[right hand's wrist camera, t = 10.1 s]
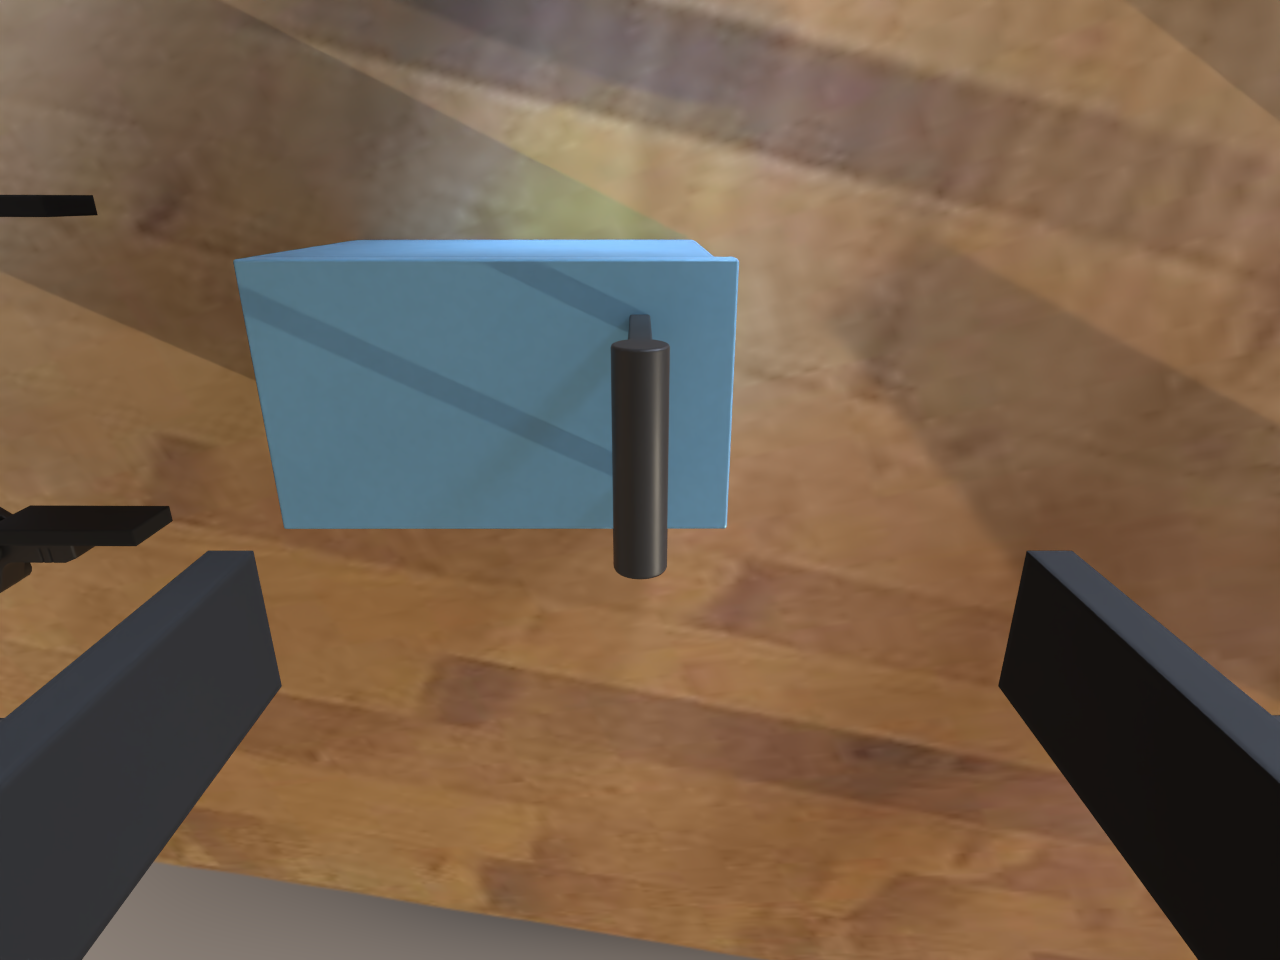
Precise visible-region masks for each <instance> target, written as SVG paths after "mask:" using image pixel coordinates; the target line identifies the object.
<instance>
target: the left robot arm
mask: <svg viewBox="0 0 1280 960" xmlns="http://www.w3.org/2000/svg"><path fill="white" fill-rule="evenodd" d="M87 215H97V211H96V207H95V203H94V199H93V195H0V217H60V216H87ZM172 521H173V520H172V516H171V512H170V508H169V506H29V507H27V508H25V509H23V510H21V511H19V512H17V513H15V514H11V513H9V512H8V511H6V510H5V509H3V508H1V507H0V593H1V592H3V591H4V590H6V589H7V588H9V587H11V586H12V585H14V584H16V583H17V582H19V581H20V580H22V579H23V578H25V577H27V576H28V575H30V573H31V572H32V566H31V564H30V562H36V563H43V562H45V563H52V562H54V563H66V562H68V561H71V560H73V559H76V558H77V557H79V556H80V555H82V554H84V553H85V552H87V551H88V550H90V549H91V548H93V547H94V546H137V545H139V544H140V543H141V542H143V541H144V540H146V539H147V538H149V537H150V536H151V535H153V534H154V533H156V532H157V531H159V530H160V529H162V528H163V527H164V526H166V525H167V524H169V523H170V522H172Z"/></svg>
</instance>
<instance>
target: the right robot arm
mask: <svg viewBox="0 0 1280 960" xmlns="http://www.w3.org/2000/svg"><path fill="white" fill-rule="evenodd" d="M281 686H282V685H281V681H280V676H279V671H278V666H277V662H276V657H275V652H274V647H273V643H272V638H271V633H270V628H269V624H268V619H267V614H266V609H265V605H264V600H263V595H262V590H261V586H260V581H259V576H258V571H257V566H256V562H255V557H254V552H253V551H207V552H206V553H205V554H204V555H202V556H201V557H200V558H199V559H197V560H196V561H195V562H194V563H193V564H191V565H190V566H189V567H188V568H187V569H185V570H184V571H183V572H182V573H180V574H179V575H178V576H177V577H176V578H174V579H173V580H172V581H171V582H170V583H168V584H167V585H166V586H165V587H163V588H162V589H161V590H160V591H159V592H157V593H156V594H155V595H154V596H153V597H151V598H150V599H149V600H148V601H146V602H145V603H144V604H143V605H142V606H140V607H139V608H138V609H137V610H136V611H134V612H133V613H132V614H131V615H129V616H128V617H127V618H126V619H125V620H123V621H122V622H121V623H120V624H119V625H117V626H116V627H115V628H114V629H112V630H111V631H110V632H109V633H108V634H106V635H105V636H104V637H103V638H102V639H100V640H99V641H98V642H97V643H95V644H94V645H93V646H92V647H91V648H89V649H88V650H87V651H86V652H84V653H83V654H82V655H81V656H80V657H78V658H77V659H76V660H75V661H74V662H72V663H71V664H70V665H69V666H67V667H66V668H65V669H64V670H63V671H61V672H60V673H59V674H58V675H57V676H55V677H54V678H53V679H52V680H50V681H49V682H48V683H47V684H46V685H44V686H43V687H42V688H41V689H40V690H38V691H37V692H36V693H35V694H33V695H32V696H31V697H30V698H29V699H27V700H26V701H25V702H24V703H23V704H21V705H20V706H19V707H18V708H16V709H15V710H14V711H13V712H12V713H10V714H9V715H8V716H7V717H6V718H0V960H82V959H83V957H84V956H85V955H86V953H87V952H88V950H89V949H90V948H91V946H92V945H93V944H94V942H95V941H96V940H97V938H98V937H99V935H100V934H101V933H102V931H103V930H104V929H105V927H106V926H107V924H108V923H109V922H110V920H111V919H112V918H113V916H114V915H115V914H116V912H117V911H118V909H119V908H120V907H121V905H122V904H123V903H124V901H125V900H126V898H127V897H128V896H129V894H130V893H131V892H132V890H133V889H134V888H135V886H136V885H137V883H138V882H139V881H140V879H141V878H142V877H143V875H144V874H145V872H146V871H147V870H148V868H149V867H150V866H151V864H152V863H153V862H154V860H155V859H156V857H157V856H158V855H159V853H160V852H161V851H162V849H163V848H164V846H165V845H166V844H167V842H168V841H169V840H170V838H171V837H172V836H173V834H174V833H175V831H176V830H177V829H178V827H179V826H180V825H181V823H182V822H183V820H184V819H185V818H186V816H187V815H188V814H189V812H190V811H191V809H192V808H193V807H194V805H195V804H196V803H197V801H198V800H199V799H200V797H201V796H202V794H203V793H204V792H205V790H206V789H207V788H208V786H209V785H210V783H211V782H212V781H213V779H214V778H215V777H216V775H217V774H218V773H219V771H220V770H221V768H222V767H223V766H224V764H225V763H226V762H227V760H228V759H229V757H230V756H231V755H232V753H233V752H234V751H235V749H236V748H237V746H238V745H239V744H240V742H241V741H242V740H243V738H244V737H245V736H246V734H247V733H248V731H249V730H250V729H251V727H252V726H253V725H254V723H255V722H256V720H257V719H258V718H259V716H260V715H261V714H262V712H263V711H264V710H265V708H266V707H267V705H268V704H269V703H270V701H271V700H272V699H273V697H274V696H275V694H276V693H277V692H278V690H279V689H280V688H281ZM998 686H999V688H1000V689H1001V690H1002V692H1003V693H1004V694H1005V696H1006V697H1007V699H1008V700H1009V701H1010V703H1011V704H1012V705H1013V707H1014V708H1015V710H1016V711H1017V712H1018V714H1019V715H1020V716H1021V718H1022V719H1023V720H1024V722H1025V723H1026V725H1027V726H1028V727H1029V729H1030V730H1031V731H1032V733H1033V734H1034V736H1035V737H1036V738H1037V740H1038V741H1039V742H1040V744H1041V745H1042V746H1043V748H1044V749H1045V751H1046V752H1047V753H1048V755H1049V756H1050V757H1051V759H1052V760H1053V762H1054V763H1055V764H1056V766H1057V767H1058V768H1059V770H1060V771H1061V773H1062V774H1063V775H1064V777H1065V778H1066V779H1067V781H1068V782H1069V783H1070V785H1071V786H1072V788H1073V789H1074V790H1075V792H1076V793H1077V794H1078V796H1079V797H1080V799H1081V800H1082V801H1083V803H1084V804H1085V805H1086V807H1087V808H1088V809H1089V811H1090V812H1091V814H1092V815H1093V816H1094V818H1095V819H1096V820H1097V822H1098V823H1099V825H1100V826H1101V827H1102V829H1103V830H1104V831H1105V833H1106V834H1107V836H1108V837H1109V838H1110V840H1111V841H1112V842H1113V844H1114V845H1115V846H1116V848H1117V849H1118V851H1119V852H1120V853H1121V855H1122V856H1123V857H1124V859H1125V860H1126V862H1127V863H1128V864H1129V866H1130V867H1131V868H1132V870H1133V871H1134V872H1135V874H1136V875H1137V877H1138V878H1139V879H1140V881H1141V882H1142V883H1143V885H1144V886H1145V888H1146V889H1147V890H1148V892H1149V893H1150V894H1151V896H1152V897H1153V898H1154V900H1155V901H1156V903H1157V904H1158V905H1159V907H1160V908H1161V909H1162V911H1163V912H1164V914H1165V915H1166V916H1167V918H1168V919H1169V920H1170V922H1171V923H1172V925H1173V926H1174V927H1175V929H1176V930H1177V931H1178V933H1179V934H1180V935H1181V937H1182V938H1183V940H1184V941H1185V942H1186V944H1187V945H1188V946H1189V948H1190V949H1191V951H1192V952H1193V953H1194V955H1195V956H1196V957H1197V959H1198V960H1280V715H1271V714H1270V713H1268V712H1267V711H1266V710H1265V709H1264V708H1262V707H1261V706H1260V705H1259V704H1257V703H1256V702H1255V701H1254V700H1253V699H1251V698H1250V697H1249V696H1248V695H1247V694H1245V693H1244V692H1243V691H1242V690H1240V689H1239V688H1238V687H1237V686H1236V685H1234V684H1233V683H1232V682H1231V681H1230V680H1228V679H1227V678H1226V677H1225V676H1223V675H1222V674H1221V673H1220V672H1219V671H1217V670H1216V669H1215V668H1214V667H1213V666H1211V665H1210V664H1209V663H1208V662H1206V661H1205V660H1204V659H1203V658H1202V657H1200V656H1199V655H1198V654H1197V653H1196V652H1194V651H1193V650H1192V649H1191V648H1189V647H1188V646H1187V645H1186V644H1185V643H1183V642H1182V641H1181V640H1180V639H1178V638H1177V637H1176V636H1175V635H1174V634H1172V633H1171V632H1170V631H1169V630H1168V629H1166V628H1165V627H1164V626H1163V625H1161V624H1160V623H1159V622H1158V621H1157V620H1155V619H1154V618H1153V617H1152V616H1151V615H1149V614H1148V613H1147V612H1146V611H1144V610H1143V609H1142V608H1141V607H1140V606H1138V605H1137V604H1136V603H1135V602H1134V601H1132V600H1131V599H1130V598H1129V597H1127V596H1126V595H1125V594H1124V593H1123V592H1121V591H1120V590H1119V589H1118V588H1117V587H1115V586H1114V585H1113V584H1112V583H1110V582H1109V581H1108V580H1107V579H1106V578H1104V577H1103V576H1102V575H1101V574H1100V573H1098V572H1097V571H1096V570H1095V569H1093V568H1092V567H1091V566H1090V565H1089V564H1087V563H1086V562H1085V561H1084V560H1083V559H1081V558H1080V557H1079V556H1078V555H1076V554H1075V553H1074V552H1073V551H1027V552H1026V557H1025V562H1024V566H1023V571H1022V576H1021V581H1020V586H1019V590H1018V595H1017V600H1016V605H1015V609H1014V614H1013V619H1012V624H1011V628H1010V633H1009V638H1008V643H1007V647H1006V652H1005V657H1004V662H1003V666H1002V671H1001V676H1000V681H999V685H998Z"/></svg>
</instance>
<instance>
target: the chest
mask: <svg viewBox="0 0 1280 960" xmlns="http://www.w3.org/2000/svg"><path fill="white" fill-rule="evenodd" d="M252 257H714V256H712V255H711V254H710V253H709V252H708V251H706V250H705V249H704V248H703V247H701V246H700V245H699V244H698V243H697V242H695V241H693V240H354V241H347V242H341V243H334V244H328V245H322V246H315V247H309V248H303V249H296V250H290V251H284V252H277V253H271V254H265V255H258V256H252Z"/></svg>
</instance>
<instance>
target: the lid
mask: <svg viewBox="0 0 1280 960" xmlns="http://www.w3.org/2000/svg"><path fill="white" fill-rule="evenodd" d="M233 263H234V268H235V273H236V278H237V283H238V289H239V294H240V299H241V304H242V310H243V315H244V320H245V325H246V331H247V336H248V341H249V346H250V352H251V357H252V362H253V367H254V372H255V378H256V383H257V388H258V393H259V399H260V404H261V409H262V414H263V420H264V425H265V430H266V435H267V440H268V446H269V451H270V456H271V461H272V467H273V472H274V477H275V482H276V488H277V493H278V498H279V503H280V509H281V514H282V519H283V524H284V528H285V529H613V550H614V568H615V570H616V572H617V573H619V574H620V575H622V576H624V577H627V578H632V579H649V578H653V577H656V576H659V575H661V574H662V573H663V572H664V571H665V569H666V567H667V528H726V526H727V507H728V485H729V464H730V442H731V421H732V399H733V378H734V356H735V335H736V313H737V292H738V270H739V261H738V260H737V259H736V258H734V257H247V258H240V259H235V260H234V262H233Z"/></svg>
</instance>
